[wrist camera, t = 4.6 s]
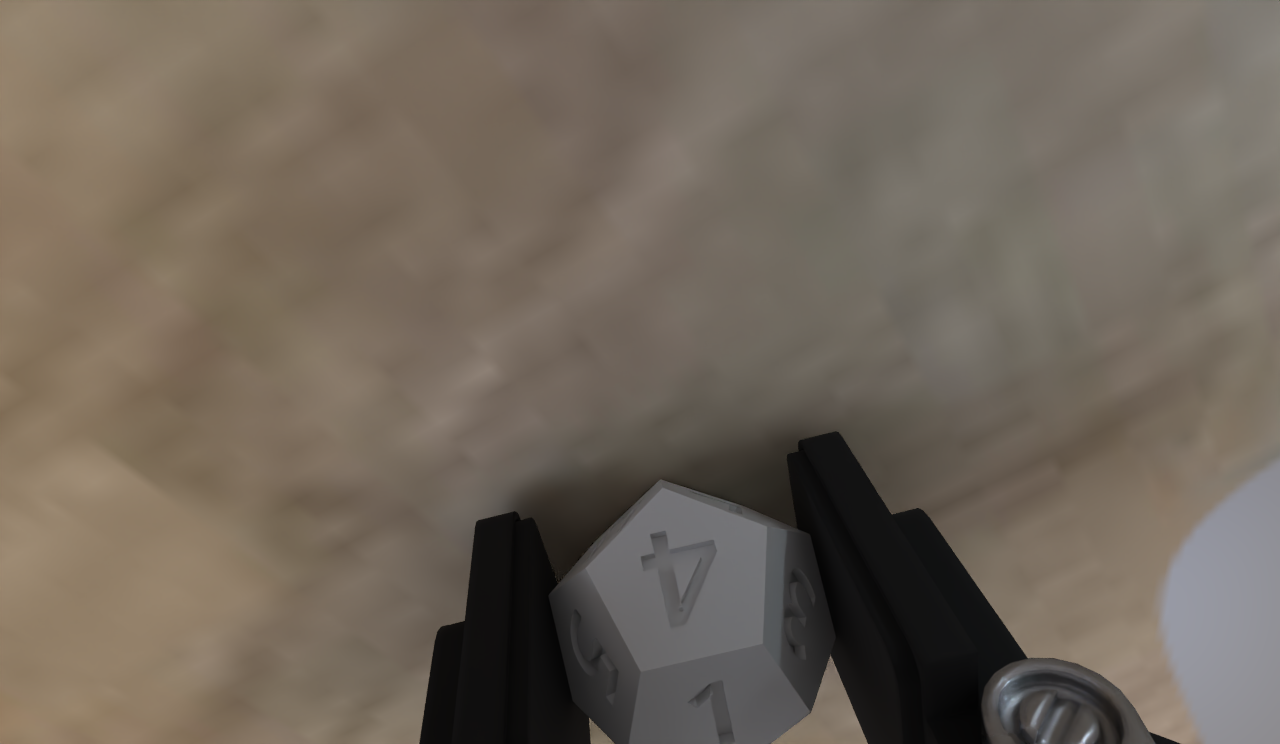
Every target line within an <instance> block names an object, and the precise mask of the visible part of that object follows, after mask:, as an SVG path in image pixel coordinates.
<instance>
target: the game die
mask: <svg viewBox="0 0 1280 744" xmlns="http://www.w3.org/2000/svg"><path fill="white" fill-rule="evenodd" d="M548 596H549V601H550V605H551V609H552V614H553V618H554V622H555V627H556V631H557V635H558V639H559V644H560V648H561V652H562V657H563V661H564V665H565V670H566V674H567V678H568V683H569V687H570V691H571V695H572V700H573V702H574V703H575V704H576V705H577V706H578V707H579V708H580V709H581V710H582V711H583V712H584V713H585V714H586V715H587V716H588V717H589V718H590V719H591V720H592V721H593V722H594V723H595V724H596V725H597V726H598V727H599V728H600V729H601V730H602V731H603V732H604V733H605V734H606V735H607V736H608V737H609V738H610V739H611V740H612V741H613V742H614V743H615V744H771V743H772V742H773V741H775V740H776V739H777V738H778V737H780V736H781V735H782V734H784V733H785V732H786V731H788V730H789V729H790V728H791V727H793V726H794V725H795V724H797V723H798V722H799V721H801V720H802V719H803V718H804V717H806V716H807V715H808V714H810V713H811V711H812V708H813V705H814V702H815V699H816V696H817V693H818V690H819V687H820V684H821V681H822V678H823V675H824V672H825V669H826V666H827V663H828V660H829V657H830V654H831V651H832V648H833V645H834V642H835V639H836V636H835V631H834V627H833V623H832V619H831V615H830V611H829V608H828V604H827V600H826V596H825V592H824V588H823V584H822V580H821V576H820V572H819V568H818V564H817V560H816V556H815V552H814V548H813V544H812V540H811V536H810V534H808V533H806V532H803V531H801V530H799V529H796V528H794V527H792V526H789V525H787V524H785V523H782V522H780V521H778V520H775V519H773V518H771V517H768V516H766V515H763V514H761V513H759V512H756V511H754V510H752V509H749V508H747V507H745V506H742V505H739V504H736V503H733V502H730V501H726V500H723V499H720V498H717V497H714V496H711V495H708V494H705V493H701V492H698V491H695V490H692V489H689V488H686V487H683V486H680V485H677V484H673V483H670V482H667V481H664V480H661V479H660V480H659V481H658V482H657V483H656V484H655V485H654V486H653V487H652V488H651V489H650V490H648V491H647V492H646V493H645V494H644V495H643V496H642V497H641V498H640V499H639V500H638V501H637V502H636V503H635V504H634V505H633V506H632V507H630V508H629V509H628V510H627V511H626V512H625V513H624V514H623V515H622V516H621V517H620V518H619V519H618V520H617V521H616V522H615V523H614V524H613V525H611V526H610V527H609V528H608V529H607V530H606V531H605V532H604V533H603V534H602V535H601V536H600V537H599V538H598V539H597V540H596V541H595V542H594V543H593V544H592V545H591V547H590V548H589V549H588V550H587V551H586V552H585V554H584V555H583V556H582V557H581V558H580V559H579V561H578V562H577V563H576V564H575V565H574V566H573V567H572V569H571V570H570V571H569V572H568V573H567V574H566V576H565V577H564V578H563V579H562V580H561V581H560V582H559V584H558V585H557V586H556V587H555V588H554V589H553V591H552V592H551V593H550V594H549V595H548Z"/></svg>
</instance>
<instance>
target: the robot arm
mask: <svg viewBox="0 0 1280 744" xmlns="http://www.w3.org/2000/svg"><path fill="white" fill-rule="evenodd" d="M798 449H799V451H797V452H793V453H789V454H787V464H788V470H789V477H790V483H791V490H792V496H793V502H794V509H795V515H796V522H797V528H798V529H799V530H801V531H803V532H806V533H808V534H810V536H811V540H812V544H813V548H814V552H815V556H816V560H817V564H818V568H819V572H820V576H821V580H822V584H823V588H824V592H825V596H826V600H827V604H828V608H829V611H830V615H831V619H832V623H833V627H834V631H835V636H836V639H835V642H834V645H833V648H832V651H831V656H832V659H833V661H834V663H835V666H836V668H837V671H838V673H839V675H840V678H841V680H842V683H843V685H844V687H845V690H846V692H847V695H848V697H849V699H850V702H851V704H852V706H853V709H854V711H855V714H856V716H857V718H858V721H859V723H860V726H861V728H862V730H863V733H864V735H865V737H866V740H867V742H868V744H1180V743H1177V742H1175V741H1172V740H1169V739H1167V738H1164V737H1161V736H1159V735H1156V734H1153V733H1151V732H1148V730H1147V728H1146V726H1145V725H1144V723H1143V721H1142V720H1141V718H1140V716H1139V715H1138V713H1137V711H1136V710H1135V708H1134V707H1133V705H1132V704H1131V703H1130V702H1129V700H1128V699H1127V698H1126V697H1125V695H1124V694H1123V693H1122V692H1121V690H1120V689H1119V688H1117V687H1116V686H1115V685H1113V684H1112V683H1111V682H1109V681H1108V680H1107V679H1105V678H1104V677H1103V676H1102V675H1100V674H1098V673H1096V672H1094V671H1092V670H1090V669H1088V668H1085V667H1083V666H1081V665H1079V664H1076V663H1072V662H1068V661H1064V660H1059V659H1055V658H1027V657H1026V655H1025V654H1024V652H1023V651H1022V649H1021V648H1020V647H1019V645H1018V644H1017V642H1016V641H1015V639H1014V638H1013V637H1012V635H1011V634H1010V632H1009V631H1008V629H1007V628H1006V626H1005V625H1004V624H1003V622H1002V621H1001V619H1000V618H999V616H998V615H997V614H996V612H995V611H994V609H993V608H992V606H991V605H990V604H989V602H988V601H987V599H986V598H985V596H984V595H983V594H982V592H981V591H980V589H979V588H978V586H977V585H976V584H975V582H974V581H973V579H972V578H971V576H970V575H969V574H968V572H967V571H966V569H965V568H964V566H963V565H962V563H961V562H960V561H959V559H958V558H957V556H956V555H955V553H954V552H953V551H952V549H951V548H950V546H949V545H948V543H947V542H946V541H945V539H944V538H943V536H942V535H941V533H940V532H939V531H938V529H937V528H936V526H935V525H934V523H933V522H932V521H931V519H930V518H929V517H928V515H927V514H926V513H925V512H924V511H923V510H921V509H919V508H917V509H913V510H909V511H905V512H900V513H896V514H892V515H891V513H890V512H889V510H888V508H887V507H886V505H885V504H884V502H883V501H882V499H881V497H880V496H879V494H878V493H877V491H876V489H875V488H874V486H873V485H872V483H871V482H870V480H869V478H868V477H867V475H866V474H865V472H864V471H863V469H862V467H861V466H860V464H859V463H858V461H857V459H856V458H855V456H854V455H853V453H852V452H851V450H850V448H849V447H848V445H847V444H846V442H845V441H844V439H843V437H842V436H841V435H840V433H839V432H837V431H835V432H831V433H827V434H823V435H819V436H815V437H811V438H807V439H803V440H800V441H799V442H798ZM557 585H558V583H557V581H556V578H555V575H554V572H553V570H552V567H551V564H550V561H549V559H548V556H547V553H546V550H545V548H544V545H543V542H542V539H541V537H540V534H539V531H538V528H537V526H536V523H535V521H534V519H533V518H528V519H524V520H521V519H520V517H519V515H518V513H517V512H515V511H514V512H510V513H506V514H502V515H498V516H494V517H490V518H486V519H482V520H478V521H477V522H476V526H475V534H474V543H473V552H472V561H471V570H470V579H469V588H468V597H467V606H466V615H465V621H463V622H459V623H455V624H451V625H447V626H443V627H441V628H440V629H439V630H438V632H437V635H436V639H435V644H434V650H433V657H432V664H431V670H430V677H429V684H428V690H427V697H426V703H425V710H424V717H423V723H422V730H421V737H420V743H419V744H591V743H590V728H589V717H588V716H587V715H586V714H585V713H584V712H583V711H582V710H581V709H580V708H579V707H578V706H577V705H576V704H575V703H574V702H573V700H572V695H571V691H570V687H569V683H568V678H567V674H566V670H565V665H564V661H563V657H562V652H561V648H560V644H559V639H558V635H557V631H556V627H555V622H554V618H553V614H552V609H551V605H550V601H549V596H548V595H549V594H550V593H551V592H552V591H553V589H554V588H555V587H556V586H557Z"/></svg>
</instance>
